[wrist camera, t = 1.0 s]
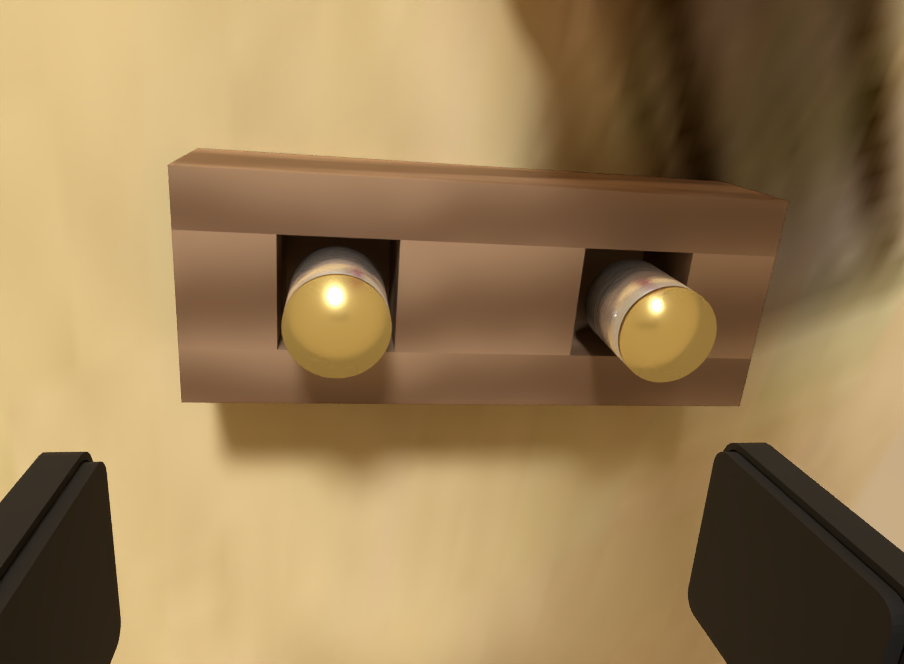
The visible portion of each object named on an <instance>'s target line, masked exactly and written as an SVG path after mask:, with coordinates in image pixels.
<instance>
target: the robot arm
mask: <svg viewBox="0 0 904 664" xmlns="http://www.w3.org/2000/svg"><path fill="white" fill-rule="evenodd" d="M688 600H689V605H690V608H691V611H692V613H693V615H694V616H695V618H696V619H697V621H698V622H699V623H700V625H701V626H702V628H703V629H704V631H705V632H706V634H707V635H708V636H709V638H710V639H711V641H712V642H713V644H714V645H715V647H716V648H717V650H718V651H719V652H720V654H721V655H722V657H723V658H724V660H725V661H726V663H727V664H904V552H902V551H901V550H900V549H899V548H897V547H896V546H895V545H894V544H893V543H891V542H890V541H889V540H887V539H886V538H885V537H884V536H883V535H881V534H880V533H879V532H877V531H876V530H875V529H874V528H873V527H871V526H870V525H869V524H868V523H866V522H865V521H864V520H863V519H861V518H860V517H859V516H858V515H856V514H855V513H854V512H853V511H851V510H850V509H849V508H848V507H846V506H845V505H844V504H843V503H841V502H840V501H839V500H838V499H836V498H835V497H834V496H833V495H831V494H830V493H829V492H828V491H826V490H825V489H824V488H823V487H822V486H820V485H819V484H818V483H817V482H815V481H814V480H813V479H812V478H810V477H809V476H808V475H807V474H805V473H804V472H803V471H802V470H800V469H799V468H798V467H797V466H795V465H794V464H793V463H792V462H790V461H789V460H788V459H787V458H785V457H784V456H783V455H782V454H780V453H779V452H778V451H777V450H775V449H774V448H773V447H772V446H770V445H769V444H767V443H730V444H729V445H727V446H726V448H725V449H724V451H723V452H720V453H718V454H717V455H716V457H715V460H714V463H713V468H712V473H711V478H710V483H709V488H708V493H707V498H706V503H705V508H704V513H703V518H702V523H701V528H700V533H699V538H698V543H697V548H696V553H695V558H694V563H693V568H692V573H691V578H690V583H689V588H688ZM120 627H121V617H120V606H119V596H118V585H117V575H116V565H115V554H114V544H113V533H112V523H111V512H110V502H109V492H108V481H107V472H106V467H105V464H104V463H103V462H93V460H92V458H91V455H90V454H89V453H88V452H45V453H42V454H41V455H39V456H38V458H37V459H36V460H35V461H34V462H33V464H32V465H31V466H30V467H29V469H28V470H27V471H26V472H25V473H24V475H23V476H22V477H21V478H20V479H19V481H18V482H17V483H16V484H15V485H14V487H13V488H12V489H11V490H10V491H9V493H8V494H7V495H6V496H5V497H4V499H3V500H2V501H1V502H0V664H110V663H111V660H112V658H113V655H114V653H115V650H116V648H117V644H118V641H119V636H120Z"/></svg>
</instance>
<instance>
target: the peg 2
mask: <svg viewBox="0 0 904 664" xmlns="http://www.w3.org/2000/svg"><path fill="white" fill-rule="evenodd" d="M584 311H585V316H586V319H587V322H588V324H589V326H590V327H591V329H592V330H593V331H594V332H595V333H596V334H597V335H598V336H599V337H600V338H601V339H602V340H603V341H604V343H605V344H606V345H607V346H608V347H609V348H610V349H611V350H612V351H613V352H614V353H615V354H616V355H617V356H618V357H619V358H620V359H621V360H622V361H623V362H624V363H625V364H626V366H627V367H628V368H629V369H630V370H631V371H632V372H633V373H635V374H636V375H637V376H639V377H641V378H642V379H645V380H648V381H652V382H670V381H674V380H677V379H680V378H682V377H685V376H686V375H688V374H690V373H691V372H693V371H694V370H695V369H697V368H698V367H699V366H700V365H701V364H702V363H703V362H704V360H705V359H706V358H707V356H708V355H709V353H710V351H711V349H712V347H713V345H714V342H715V338H716V332H717V323H716V317H715V314H714V311H713V309H712V307H711V306H710V304H709V303H708V302H707V300H706V299H705V298H703V297H702V296H701V295H699V294H698V293H696V292H695V291H693V290H692V289H690V288H688V287H687V286H685V285H684V284H682V283H680V282H679V281H677V280H676V279H674V278H673V277H671V276H669V275H668V274H666V273H665V272H663V271H662V270H660V269H658V268H657V267H655V266H654V265H652V264H650V263H648V262H646V261H643V260H639V259H625V260H621V261H617V262H615V263H613V264H611V265H609V266H607V267H606V268H604V269H603V270H602V271H601V272H600V273H598V274H597V276H596V277H595V278H594V279H593V281H592V282H591V284H590V286H589V288H588V290H587V293H586V296H585V302H584Z"/></svg>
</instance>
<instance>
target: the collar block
mask: <svg viewBox="0 0 904 664" xmlns="http://www.w3.org/2000/svg"><path fill="white" fill-rule="evenodd" d="M168 175H169V193H170V210H171V227H172V245H173V262H174V279H175V297H176V314H177V331H178V349H179V366H180V383H181V400H182V402H205V403H350V404H496V405H642V406H740V402H741V398H742V394H743V390H744V386H745V382H746V377H747V373H748V369H749V365H750V361H751V357H752V353H753V348H754V344H755V340H756V336H757V332H758V328H759V323H760V319H761V315H762V311H763V307H764V303H765V299H766V294H767V290H768V286H769V282H770V278H771V274H772V269H773V265H774V261H775V257H776V253H777V249H778V244H779V240H780V236H781V232H782V228H783V224H784V220H785V215H786V211H787V207H788V203H789V201H786V200H782V199H779V198H775V197H772V196H769V195H765V194H762V193H759V192H755V191H752V190H749V189H745V188H742V187H739V186H735V185H732V184H729V183H725V182H722V181H710V180H694V179H678V178H662V177H646V176H630V175H614V174H599V173H583V172H567V171H551V170H535V169H519V168H503V167H488V166H472V165H456V164H440V163H424V162H408V161H393V160H377V159H361V158H345V157H329V156H313V155H297V154H282V153H266V152H250V151H234V150H218V149H202V148H197V149H196V150H194V151H192V152H190V153H188V154H187V155H185V156H183V157H181V158H179V159H178V160H176V161H174V162H172V163H170V164H169V165H168ZM332 246H341V247H347V248H352V249H354V250H357V251H359V252H361V253H363V254H364V255H366V256H367V257H368V258H370V259H371V260H372V261H373V262H374V264H375V265H376V266H377V268H378V269H379V271H380V273H381V275H382V277H383V281H384V285H385V290H386V295H387V300H388V306H389V311H390V316H391V322H392V332H391V338H390V342H389V345H388V347H387V349H386V351H385V353H384V354H383V356H382V357H381V358H380V360H379V361H378V362H377V363H376V364H375V365H373V366H372V367H371V368H369V369H368V370H366V371H364V372H362V373H360V374H358V375H355V376H351V377H346V378H327V377H322V376H319V375H316V374H314V373H311V372H309V371H308V370H306V369H304V368H303V367H302V366H300V365H299V364H298V363H297V362H296V361H295V360H294V359H293V358H292V356H291V355H290V354H289V352H288V350H287V348H286V346H285V344H284V341H283V337H282V329H281V325H282V317H283V313H284V308H285V304H286V300H287V296H288V292H289V288H290V283H291V279H292V276H293V274H294V272H295V270H296V268H297V267H298V265H299V264H300V263H301V262H302V261H303V260H304V259H305V258H306V257H307V256H308V255H310V254H311V253H313V252H315V251H317V250H319V249H323V248H326V247H332ZM625 259H639V260H643V261H646V262H648V263H650V264H652V265H654V266H655V267H657V268H658V269H660V270H662V271H663V272H665V273H666V274H668V275H669V276H671V277H673V278H674V279H676V280H677V281H679V282H680V283H682V284H684V285H685V286H687V287H688V288H690V289H692V290H693V291H695V292H696V293H698V294H699V295H701V296H702V297H703V298H705V299H706V300H707V302H708V303H709V304H710V306H711V307H712V309H713V311H714V314H715V317H716V323H717V332H716V338H715V342H714V345H713V347H712V349H711V351H710V353H709V355H708V356H707V358H706V359H705V360H704V362H703V363H702V364H701V365H700V366H699V367H698V368H697V369H695V370H694V371H693V372H691V373H690V374H688V375H686V376H685V377H682V378H680V379H677V380H674V381H670V382H652V381H648V380H645V379H642V378H641V377H639V376H637V375H636V374H635V373H633V372H632V371H631V370H630V369H629V368H628V367H627V366H626V364H625V363H624V362H623V361H622V360H621V359H620V358H619V357H618V356H617V355H616V354H615V353H614V352H613V351H612V350H611V349H610V348H609V347H608V346H607V345H606V344H605V343H604V341H603V340H602V339H601V338H600V337H599V336H598V335H597V334H596V333H595V332H594V331H593V330H592V329H591V327H590V326H589V324H588V322H587V319H586V316H585V311H584V302H585V296H586V293H587V290H588V288H589V286H590V284H591V282H592V281H593V279H594V278H595V277H596V276H597V274H598V273H600V272H601V271H602V270H603V269H604V268H606V267H607V266H609V265H611V264H613V263H615V262H617V261H621V260H625Z"/></svg>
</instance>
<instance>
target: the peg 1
mask: <svg viewBox="0 0 904 664" xmlns="http://www.w3.org/2000/svg"><path fill="white" fill-rule="evenodd" d="M281 329H282V337H283V341H284V344H285V346H286V348H287V350H288V352H289V354H290V355H291V356H292V358H293V359H294V360H295V361H296V362H297V363H298V364H299V365H300V366H302V367H303V368H304V369H306V370H308V371H309V372H311V373H314V374H316V375H319V376H322V377H327V378H346V377H351V376H355V375H358V374H360V373H362V372H364V371H366V370H368V369H369V368H371V367H372V366H373V365H375V364H376V363H377V362H378V361H379V360H380V358H381V357H382V356H383V354H384V353H385V351H386V349H387V347H388V345H389V342H390V338H391V332H392V322H391V316H390V311H389V306H388V300H387V295H386V290H385V285H384V281H383V277H382V275H381V273H380V271H379V269H378V268H377V266H376V265H375V264H374V262H373V261H372V260H371V259H370V258H368V257H367V256H366V255H364V254H363V253H361V252H359V251H357V250H354V249H352V248H347V247H341V246H332V247H326V248H323V249H319V250H317V251H315V252H313V253H311V254H310V255H308V256H307V257H306V258H305V259H304V260H303V261H302V262H301V263H300V264H299V265H298V267H297V268H296V270H295V272H294V274H293V276H292V279H291V283H290V288H289V292H288V296H287V300H286V304H285V308H284V313H283V317H282V325H281Z"/></svg>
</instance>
